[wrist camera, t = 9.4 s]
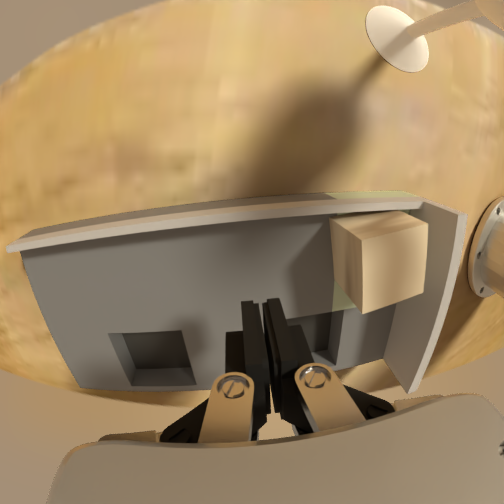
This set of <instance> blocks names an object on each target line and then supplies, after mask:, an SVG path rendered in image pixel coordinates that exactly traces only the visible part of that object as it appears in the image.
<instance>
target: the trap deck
mask: <svg viewBox="0 0 504 504" xmlns="http://www.w3.org/2000/svg"><path fill="white" fill-rule="evenodd" d="M381 210H399V211H401V212H404V213H406V214H408V215H410V216H413V217H415V218H417V219H419V220H421V221H424V222H426V223H428V243H427V259H426V270H425V280H424V289H423V293H421V294H418V295H416V296H413V297H410V298H408V299H405V300H402V301H400V302H397V303H394V304H391V305H388V306H386V307H383V308H380V309H377V310H374V311H371V312H368V313H365V314H362V313H361V312H360V311H359V309H358V308H357V307H356V306H355V304H354V303H353V302H352V301H351V299H350V298H349V297H348V296H347V294H346V293H345V292H344V291H343V289H342V288H341V287H340V286H339V285H338V283H337V282H336V281H335V280H334V267H333V254H332V243H331V233H330V223H329V217H333V216H338V215H343V214H348V213H353V212H363V211H381ZM467 216H468V214H466V213H463V212H461V211H458V210H455V209H453V208H450V207H448V206H445V205H442V204H439V203H437V202H434V201H431V200H428V199H425V198H422V197H420V196H417V195H414V194H411V193H407V192H404V191H355V192H329V193H309V194H293V195H278V196H265V197H253V198H241V199H231V200H221V201H211V202H202V203H193V204H185V205H177V206H169V207H161V208H154V209H147V210H140V211H133V212H127V213H120V214H114V215H108V216H102V217H96V218H90V219H85V220H79V221H74V222H69V223H64V224H59V225H54V226H49V227H44V228H39V229H34V230H32V231H30V232H29V233H27V234H25V235H24V236H22V237H20V238H19V239H17V240H15V241H14V242H12V243H10V244H9V245H7V246H6V250H7V253H11V252H16V251H20V253H21V257H22V260H23V263H24V266H25V270H26V273H27V276H28V279H29V281H30V284H31V287H32V290H33V292H34V295H35V298H36V300H37V303H38V305H39V308H40V310H41V313H42V315H43V317H44V320H45V322H46V324H47V326H48V328H49V331H50V333H51V335H52V337H53V339H54V341H55V343H56V345H57V347H58V349H59V351H60V353H61V355H62V357H63V358H64V360H65V362H66V364H67V366H68V367H69V369H70V371H71V373H72V374H73V376H74V378H75V380H76V381H77V383H78V384H79V386H80V388H89V389H100V390H116V391H149V392H161V391H195V390H211V389H212V385H213V383H214V381H215V380H216V379H217V378H218V377H219V376H221V375H223V374H225V336H226V332H231V331H243V326H242V311H241V301H250V300H253V302H254V303H259V309H260V315H261V321H262V327H263V332H264V326H263V309H262V303H264V302H267V299H271V298H280V301H281V304H282V308H283V311H284V314H285V318H286V321H287V324H288V326H291V325H299V324H300V325H301V327H302V329H303V332H304V335H305V337H306V340H307V343H308V346H309V348H310V351H311V354H312V357H313V359H314V362H315V363H321V364H325V365H327V366H329V367H330V368H331V369H332V370H333V371H337V370H341V369H345V368H350V367H354V366H357V365H361V364H365V363H369V362H372V361H376V360H379V359H384V361H385V362H386V364H387V365H388V367H389V368H390V369H391V371H392V372H393V374H394V375H395V377H396V378H397V380H398V381H399V383H400V384H401V386H402V387H403V388H404V390H405V392H406V393H407V394H409V393H412V392H414V391H416V390H417V388H418V386H419V384H420V382H421V379H422V377H423V375H424V373H425V370H426V368H427V366H428V363H429V361H430V359H431V356H432V354H433V351H434V348H435V346H436V343H437V340H438V338H439V335H440V332H441V329H442V326H443V323H444V320H445V317H446V314H447V311H448V307H449V304H450V300H451V297H452V293H453V289H454V285H455V281H456V277H457V273H458V269H459V264H460V259H461V254H462V249H463V243H464V237H465V231H466V224H467Z"/></svg>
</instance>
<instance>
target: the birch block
mask: <svg viewBox="0 0 504 504" xmlns="http://www.w3.org/2000/svg"><path fill="white" fill-rule="evenodd" d="M329 223H330V233H331V243H332V254H333V267H334V280H335V281H336V282H337V283H338V285H339V286H340V287H341V288H342V289H343V291H344V292H345V293H346V294H347V296H348V297H349V298H350V299H351V301H352V302H353V303H354V304H355V306H356V307H357V308H358V309H359V311H360V312H361V313H362V314H365V313H368V312H371V311H374V310H377V309H380V308H383V307H386V306H388V305H391V304H394V303H397V302H400V301H402V300H405V299H408V298H410V297H413V296H416V295H418V294H421V293H423V289H424V280H425V270H426V259H427V243H428V223H426V222H424V221H421V220H419V219H417V218H415V217H413V216H410V215H408V214H406V213H404V212H401V211H399V210H381V211H363V212H353V213H348V214H343V215H338V216H333V217H329Z"/></svg>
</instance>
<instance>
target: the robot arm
mask: <svg viewBox="0 0 504 504" xmlns="http://www.w3.org/2000/svg"><path fill="white" fill-rule="evenodd" d="M468 281H469V285H470V288H471V289H472V291H473V292H474V293H475V294H477V295H478V296H480V297H482V298H484V297H489V296H491V295H493V294H495V293H497V294H498V295H500V296H501V297H503V298H504V196H502V197H499V198H497V199H496V200H495V201H493V202H492V204H491V205H490V206H489V207H488V208H487V210H486V212H485V213H484V215H483V216H482V219H481V221H480V223H479V225H478V227H477V230H476V232H475V235H474V238H473V242H472V245H471V250H470V254H469V261H468ZM262 309H263V326H264V332H263V327H262V321H261V315H260V309H259V303H254V302H253V300H250V301H241V311H242V326H243V331H231V332H226V336H225V374H223V375H221V376H219V377H218V378H217V379H216V380H215V381H214V383H213V385H212V389H211V393H210V397H209V398H208V399H207V400H205V401H204V402H202V403H201V404H200V405H198V406H197V407H196V408H194V409H193V410H192V411H190V412H189V413H187V414H186V415H184V416H183V417H182V418H180V419H179V420H177V421H176V422H174V423H173V424H171V425H170V426H168V427H167V428H166V429H165V430H164V431H163V432H159V433H156V431H155V430H154V431H145V432H135V433H124V434H110V435H105V436H103V437H102V438H100V439H99V441H98V442H91V443H86V444H83V445H80V446H77V447H75V448H73V449H72V450H70V451H69V452H68V453H67V455H66V456H65V457H64V458H63V460H62V462H61V464H60V466H59V468H58V470H57V472H56V474H55V477H54V479H53V482H52V485H51V489H50V492H49V495H48V498H47V502H46V504H504V417H503V415H502V414H501V413H500V412H499V411H498V409H497V408H496V407H495V406H494V405H493V404H492V403H491V402H490V401H489V400H488V399H486V398H485V397H484V396H482V395H479V394H474V393H460V394H452V395H447V396H442V395H430V396H424V397H418V398H411V399H404V400H396V401H395V402H394V403H391V404H390V403H389V402H387V401H385V400H383V399H380V398H377V397H374V396H372V395H369V394H366V393H364V392H361V391H358V390H356V389H353V388H351V387H348V386H345V385H343V384H342V383H341V381H340V380H339V378H338V377H337V375H336V374H335V372H334V371H333V370H332V369H331V368H330V367H329V366H327V365H325V364H321V363H315V362H314V359H313V357H312V354H311V351H310V348H309V346H308V343H307V340H306V337H305V335H304V332H303V329H302V327H301V325H300V324H299V325H291V326H288V324H287V321H286V318H285V314H284V311H283V308H282V304H281V301H280V298H271V299H267V302H264V303H262ZM270 386H271V392H272V398H273V404H274V410H275V413H280V415H281V419H284V420H285V421H287V422H289V423H291V424H292V428H293V431H294V434H295V436H292V437H285V438H278V439H269V440H260V441H258V440H259V429H260V428H261V427H262V426H263V425H264V424H265V423H266V422H267V417H266V416H267V414H270V413H271V403H270Z"/></svg>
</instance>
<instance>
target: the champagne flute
mask: <svg viewBox="0 0 504 504" xmlns="http://www.w3.org/2000/svg"><path fill="white" fill-rule="evenodd" d="M481 16H486V17H487V18H488V19H489V20H490V21H491V22H492V23H493V24H495V25H496V26H498V27H499V28H500V29H502V30H503V31H504V0H471V1H468V2H465V3H462V4H459V5H456V6H454V7H451V8H448V9H446V10H443V11H441V12H438V13H436V14H433V15H431V16H429V17H426V18H424V19H422V20H420V21H417V22H414V21H413V20H412V19H411V18H410V17H409V16H407V15H406V14H405V13H403V12H402V11H400V10H398V9H396V8H393V7H390V6H376V7H374V8H372V9H371V10H370V11H369V12H368V14H367V16H366V30H367V33H368V36H369V38H370V40H371V42H372V44H373V45H374V47H375V49H376V50H377V51H378V52H379V54H380V55H381V56H382V57H383V58H384V59H385V60H386V61H387V62H389V63H390V64H391V65H393V66H394V67H396V68H398V69H400V70H403V71H405V72H418V71H420V70H422V69H423V68H424V67H425V66H426V64H427V62H428V58H429V50H428V45H427V42H426V39H425V37H424V35H425V34H428V33H430V32H433V31H436V30H439V29H442V28H445V27H448V26H451V25H454V24H457V23H460V22H463V21H467V20H470V19H474V18H477V17H481Z"/></svg>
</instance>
